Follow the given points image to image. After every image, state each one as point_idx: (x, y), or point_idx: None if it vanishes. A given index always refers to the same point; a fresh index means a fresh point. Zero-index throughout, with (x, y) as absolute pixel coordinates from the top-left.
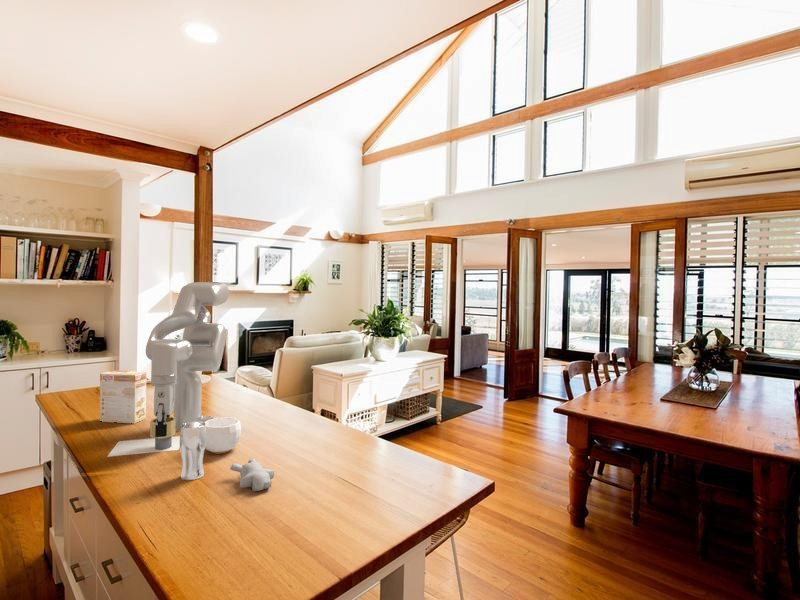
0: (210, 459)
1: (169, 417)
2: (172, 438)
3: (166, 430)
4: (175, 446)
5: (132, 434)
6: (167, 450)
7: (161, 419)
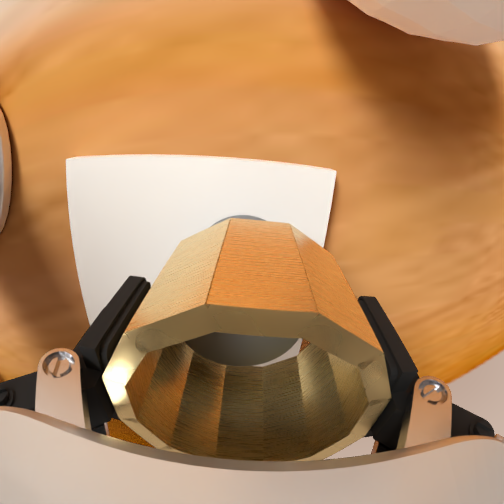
0: (468, 49)
1: (132, 370)
2: (98, 219)
3: (391, 324)
4: (262, 190)
5: (33, 355)
6: (320, 235)
7: (497, 436)
